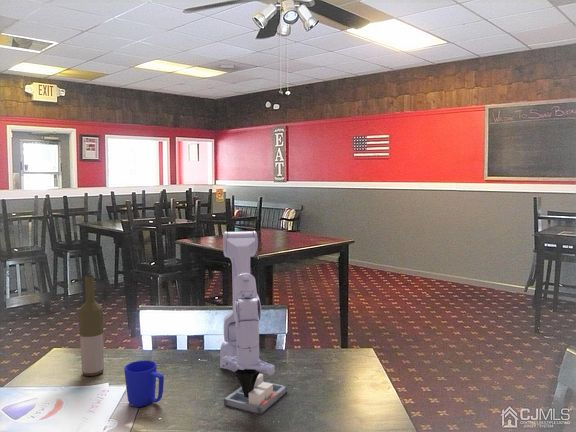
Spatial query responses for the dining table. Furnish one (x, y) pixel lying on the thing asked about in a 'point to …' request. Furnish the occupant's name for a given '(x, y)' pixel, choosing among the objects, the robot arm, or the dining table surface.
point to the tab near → (256, 397)
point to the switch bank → (243, 403)
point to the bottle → (91, 332)
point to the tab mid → (266, 389)
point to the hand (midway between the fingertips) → (248, 396)
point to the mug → (142, 383)
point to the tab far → (259, 380)
